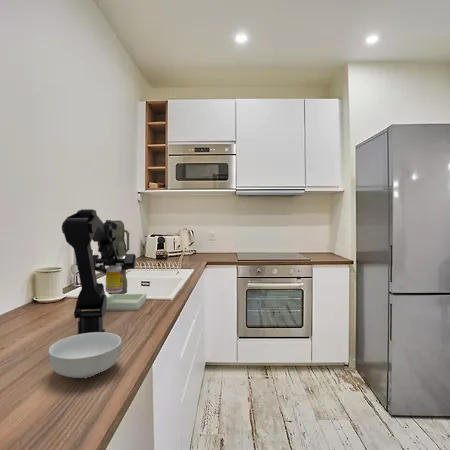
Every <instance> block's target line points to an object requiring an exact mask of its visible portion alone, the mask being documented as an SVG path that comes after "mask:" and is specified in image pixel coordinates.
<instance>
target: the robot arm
mask: <svg viewBox="0 0 450 450" xmlns="http://www.w3.org/2000/svg"><path fill="white" fill-rule="evenodd" d="M111 221H112V220H111V219H106V220H105V222H103V221H102V220H101V218H100V217H99V215H98V214H97V210H96V209H91V208H88V209H85V208H84V209H83V208H82V209H81V208H80V209H79V210H78V211H77V212H76V213H73V214H71V215H70V216H67V217H66V218H65V220H63V222H62V224H61V231H62V234H63V235H64V238H65V242H66V243H67V244H68V245H69V246H70V247H72V249H73V250H74V256H75V261H76V267H77V271H78V276H79V281H80V287H81V290H80V292H79V293H78V295H77V299H76V302H75V308H74V312H73V316H74V319H78V321H77V335H78V334H83V333H93V332H106V329H104V325H103V324H104V323H103V322H104V321H103V320H104V319H103V317H105V315H106V314H107V311H106V305H107V298H108V296H107V295H106V294H105V293H106V291H105V287H104V284H103V283H99V282H98V281H97V275H96V272H99V273H101V274H104V275H105V276H106V268H107V267H109V266H116V263H122V268H121V270H122V274H124V273H125V271H126V272H127V271H128V270H133V269H135V268H136V261H137V260H136V259H137V257H136V256H137V255H135V253H126V254H125V256H123V257H118V256H119V249H120V247H119V241H113V240H115V239H116V234H117V229H118V225H117V224H116V223H114V222H111ZM92 241H93V242H95V243H97V248H98V249H97V251H98V253H100V255H101V256H100V255H99V254H93V252H92V246H91V245H92V244H91V242H92ZM99 309H100V310H99Z"/></svg>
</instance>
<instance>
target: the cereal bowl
mask: <svg viewBox="0 0 450 450" xmlns="http://www.w3.org/2000/svg"><path fill="white" fill-rule="evenodd" d="M122 340H123V339H122V338H121V337H120V336H119V335H118V334H116V333H111V332H106V331H104V332H93V333H83V334H78V333H77V334H73V335H70V336H67V337H64V338H62V339H59V340H57V341H56V342H54V343H53V344H51V345H50V346H49V349H48V362H49V365H50V368H52V369H51V370H53V371H54V372H55V373H57V374H58V375H60V376H63V377H67V378H72V379H75V378H85V377H89V376H92V375H95V374H98V373H99V374H101V373H103V372H104V371H106V370H108V369H109V368H111V367H112V366H114V365H115V364H116V362H117V361H118V360H119V358H120V356H121V353H122V347H123V341H122ZM100 372H101V373H100ZM99 374H98V375H99ZM85 379H86V378H85Z"/></svg>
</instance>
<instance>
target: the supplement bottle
mask: <svg viewBox="0 0 450 450" xmlns="http://www.w3.org/2000/svg"><path fill="white" fill-rule="evenodd" d="M120 264H121V263H116V266H106V275H105V293H108V294H109V293H118V292H121V291H122V283H123V274H122V270H121V268H122V267H120Z"/></svg>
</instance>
